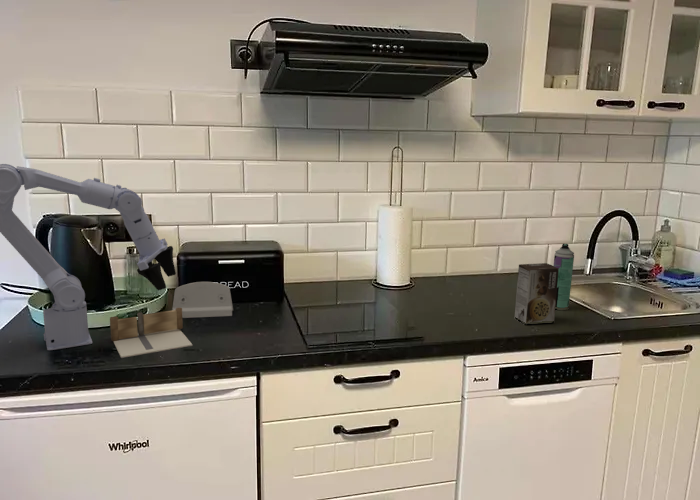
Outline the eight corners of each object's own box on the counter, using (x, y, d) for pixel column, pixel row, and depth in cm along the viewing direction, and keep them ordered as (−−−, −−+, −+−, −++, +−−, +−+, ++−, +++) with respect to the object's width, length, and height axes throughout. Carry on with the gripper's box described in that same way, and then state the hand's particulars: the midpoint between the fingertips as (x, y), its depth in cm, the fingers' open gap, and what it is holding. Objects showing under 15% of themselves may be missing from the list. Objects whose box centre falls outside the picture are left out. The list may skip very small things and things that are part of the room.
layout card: (121, 357, 124) (121, 356, 124) (111, 338, 136) (111, 336, 136) (192, 345, 133) (192, 344, 132) (177, 328, 144) (177, 326, 144)
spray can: (564, 305, 172) (571, 242, 168) (571, 311, 167) (578, 246, 163) (546, 305, 172) (553, 242, 168) (552, 310, 167) (559, 245, 163)
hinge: (170, 318, 152) (170, 282, 153) (172, 318, 156) (172, 283, 158) (233, 315, 155) (232, 280, 156) (233, 316, 160) (232, 281, 161)
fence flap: (139, 336, 136) (138, 314, 135) (138, 334, 138) (136, 312, 136) (183, 329, 142) (182, 308, 141) (181, 327, 143) (181, 306, 142)
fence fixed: (111, 341, 133) (110, 319, 132) (110, 339, 134) (109, 317, 133) (138, 337, 136) (136, 315, 135) (136, 335, 138) (135, 313, 136)
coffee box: (541, 316, 161) (546, 262, 158) (554, 324, 155) (560, 267, 152) (513, 318, 159) (518, 263, 156) (525, 325, 153) (530, 269, 149)
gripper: (147, 242, 129) (172, 291, 135) (167, 220, 143) (189, 265, 148) (120, 250, 130) (146, 298, 136) (143, 227, 144) (165, 272, 149)
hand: (167, 281), depth 142 cm, fingers open, 7 cm apart
